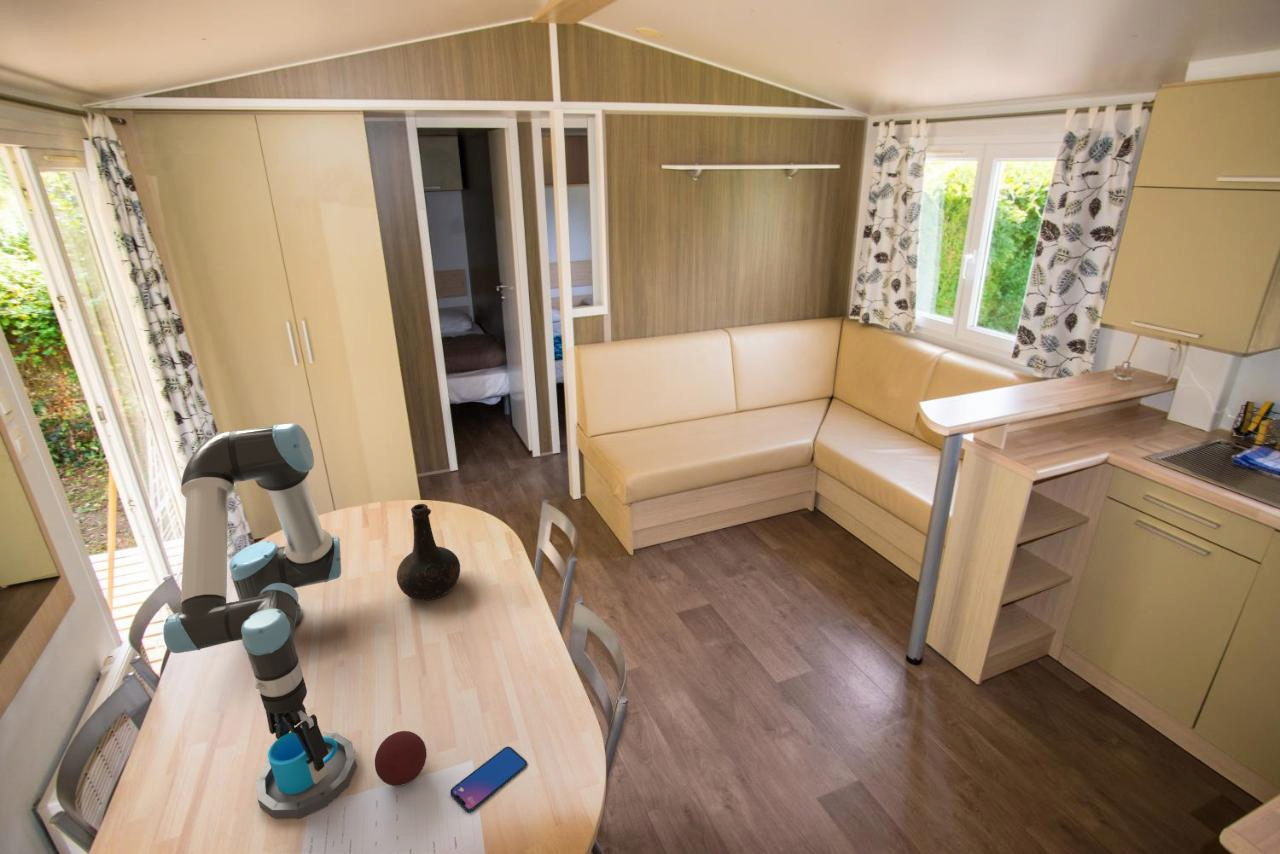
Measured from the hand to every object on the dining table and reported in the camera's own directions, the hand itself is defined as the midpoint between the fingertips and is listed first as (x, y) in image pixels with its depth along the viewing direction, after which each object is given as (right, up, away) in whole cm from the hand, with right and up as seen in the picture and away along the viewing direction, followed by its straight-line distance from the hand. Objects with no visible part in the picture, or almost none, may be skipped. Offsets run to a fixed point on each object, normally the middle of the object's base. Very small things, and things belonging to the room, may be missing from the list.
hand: (306, 769), depth 133 cm
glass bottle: (+7, +22, +59) cm, 63 cm away
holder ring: (0, -2, +1) cm, 2 cm away
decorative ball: (+20, -2, +1) cm, 20 cm away
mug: (+1, -1, 0) cm, 1 cm away
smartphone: (+38, -3, 0) cm, 38 cm away
